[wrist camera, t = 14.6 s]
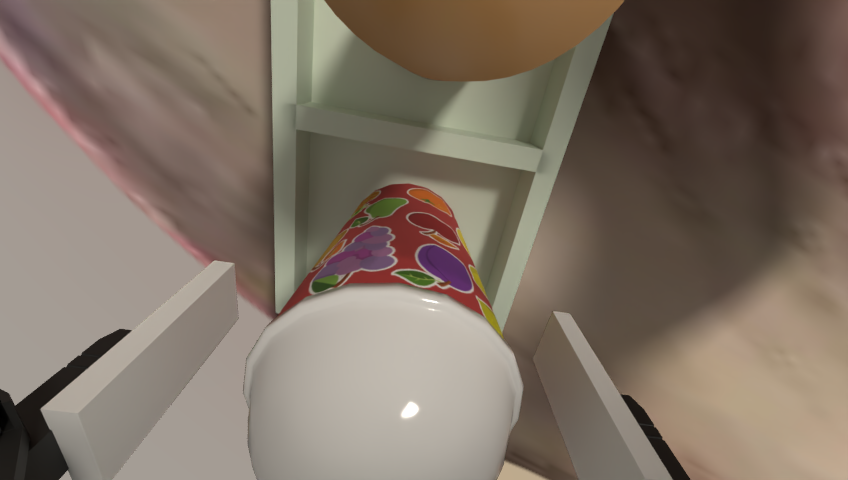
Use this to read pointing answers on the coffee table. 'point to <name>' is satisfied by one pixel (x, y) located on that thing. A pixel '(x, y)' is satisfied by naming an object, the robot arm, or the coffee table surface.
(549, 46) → the tan rounded capsule
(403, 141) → the green divided tray
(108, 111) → the coffee table surface
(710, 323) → the coffee table surface
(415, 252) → the smoothie
